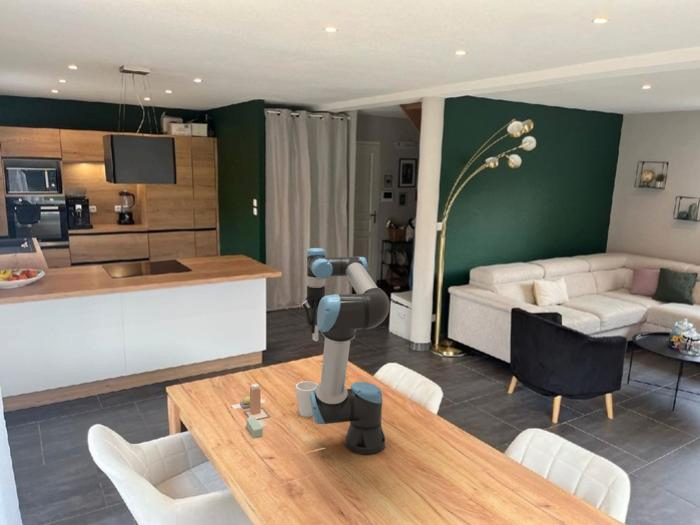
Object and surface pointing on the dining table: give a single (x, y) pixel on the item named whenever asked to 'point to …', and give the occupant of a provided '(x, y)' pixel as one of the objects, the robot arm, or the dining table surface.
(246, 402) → the button
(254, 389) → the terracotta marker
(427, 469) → the dining table surface
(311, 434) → the dining table surface
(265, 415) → the white flat panel
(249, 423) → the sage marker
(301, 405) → the foam cup
